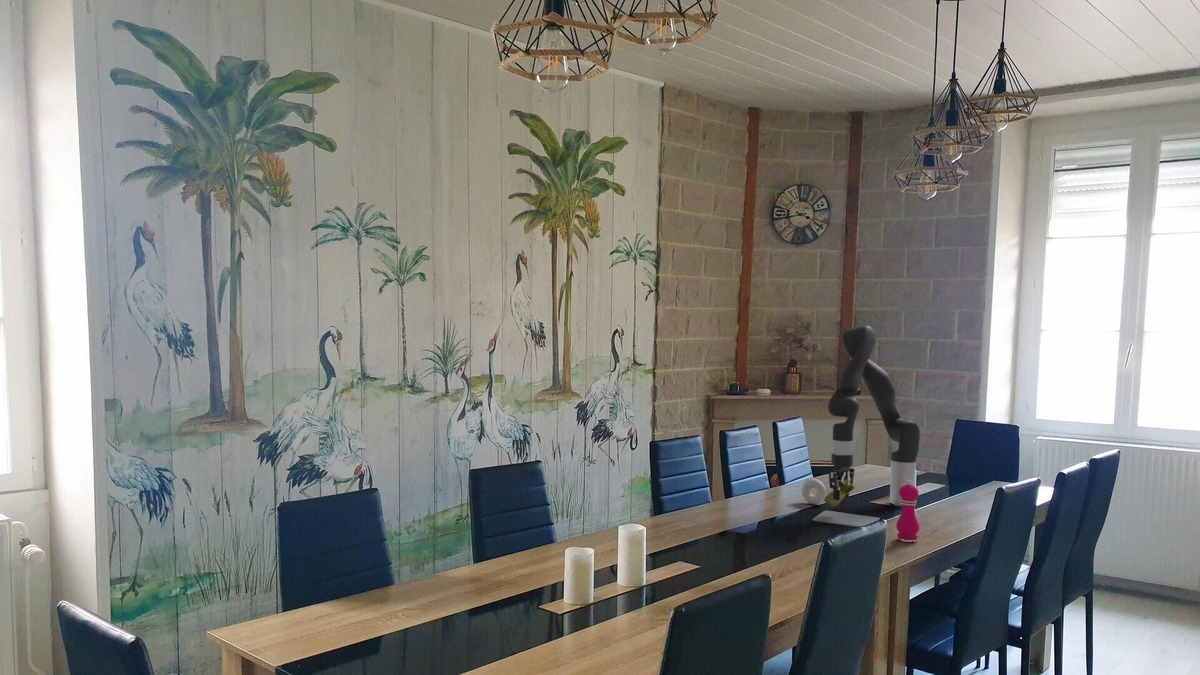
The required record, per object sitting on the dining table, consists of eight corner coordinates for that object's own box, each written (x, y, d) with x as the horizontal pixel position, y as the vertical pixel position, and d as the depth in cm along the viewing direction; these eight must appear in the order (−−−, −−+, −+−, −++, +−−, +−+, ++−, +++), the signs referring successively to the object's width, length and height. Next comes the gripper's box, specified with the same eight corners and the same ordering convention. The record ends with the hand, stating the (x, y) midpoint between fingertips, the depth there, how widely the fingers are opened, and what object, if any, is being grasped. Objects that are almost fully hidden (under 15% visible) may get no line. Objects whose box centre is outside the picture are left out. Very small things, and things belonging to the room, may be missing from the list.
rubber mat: (825, 511, 316) (825, 510, 316) (879, 519, 305) (879, 517, 305) (812, 520, 302) (812, 519, 302) (869, 529, 292) (869, 527, 292)
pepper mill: (919, 538, 280) (921, 479, 279) (918, 544, 274) (920, 483, 273) (896, 536, 283) (898, 477, 282) (894, 541, 277) (896, 481, 276)
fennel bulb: (821, 502, 306) (843, 483, 300) (822, 494, 310) (844, 475, 304) (834, 511, 306) (856, 492, 300) (835, 503, 310) (857, 484, 304)
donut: (827, 505, 325) (828, 480, 324) (823, 507, 322) (823, 481, 322) (804, 501, 332) (805, 476, 331) (800, 502, 329) (800, 477, 329)
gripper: (843, 448, 311) (842, 494, 312) (822, 453, 302) (821, 499, 302) (861, 451, 306) (860, 497, 307) (841, 456, 296) (839, 503, 297)
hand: (841, 498), depth 304 cm, fingers closed on fennel bulb, 5 cm apart
